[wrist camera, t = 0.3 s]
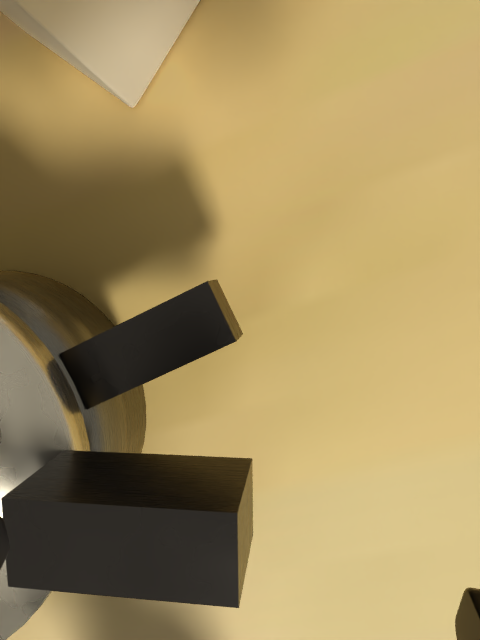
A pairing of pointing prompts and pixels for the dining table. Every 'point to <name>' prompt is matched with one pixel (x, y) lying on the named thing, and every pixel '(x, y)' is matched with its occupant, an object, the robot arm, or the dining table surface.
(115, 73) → the milk carton
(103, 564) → the cooker lid
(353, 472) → the dining table surface
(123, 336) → the cooker pot
